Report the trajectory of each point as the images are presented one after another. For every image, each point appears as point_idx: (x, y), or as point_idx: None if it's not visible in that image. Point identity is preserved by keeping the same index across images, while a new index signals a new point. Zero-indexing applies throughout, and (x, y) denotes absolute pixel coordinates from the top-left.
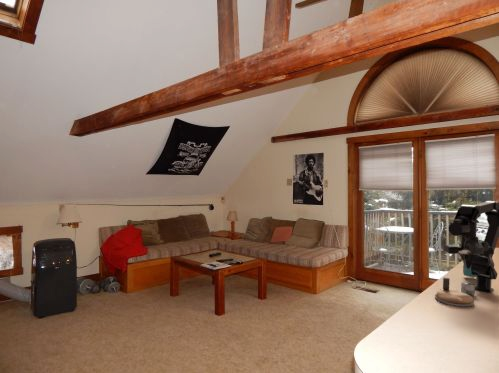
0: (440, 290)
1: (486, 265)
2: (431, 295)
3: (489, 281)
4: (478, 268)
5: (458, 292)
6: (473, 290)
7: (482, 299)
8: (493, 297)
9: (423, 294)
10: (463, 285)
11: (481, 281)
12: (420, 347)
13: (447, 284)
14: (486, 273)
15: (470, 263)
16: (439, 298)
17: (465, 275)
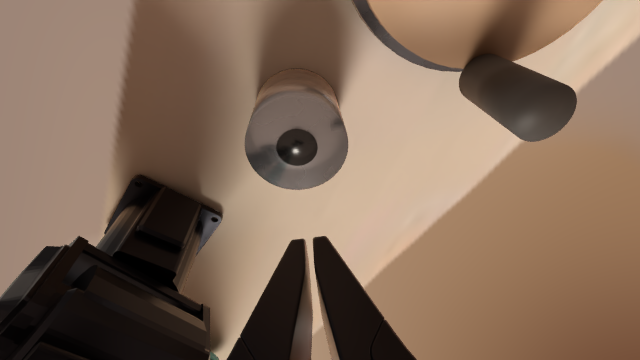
0: (548, 40)
1: (34, 354)
2: (582, 28)
3: (104, 242)
4: (150, 329)
5: (417, 16)
6: (266, 92)
7: (221, 20)
8: (128, 90)
9: (629, 39)
10: (341, 120)
11: (164, 234)
12: None
13: (518, 66)
14: (92, 273)
15: (283, 301)
16: None
17: (215, 356)
